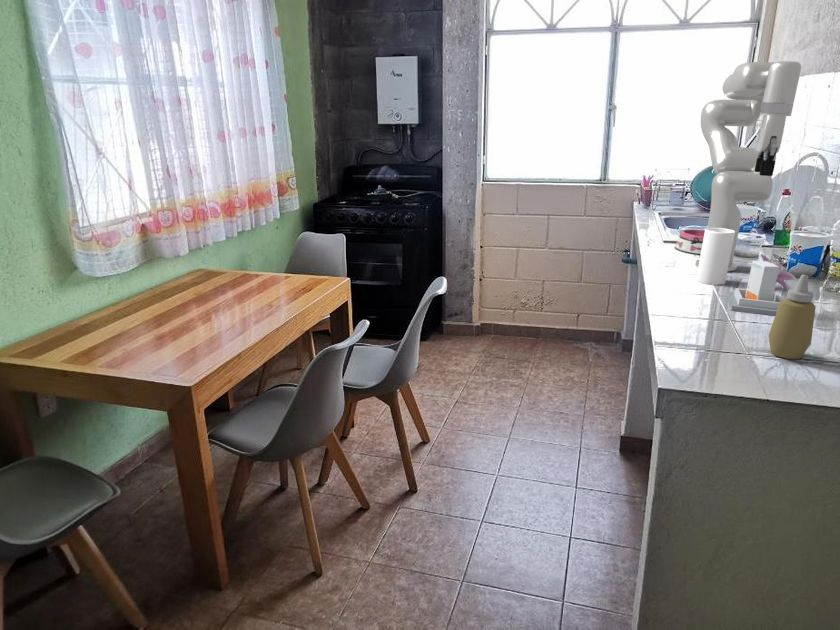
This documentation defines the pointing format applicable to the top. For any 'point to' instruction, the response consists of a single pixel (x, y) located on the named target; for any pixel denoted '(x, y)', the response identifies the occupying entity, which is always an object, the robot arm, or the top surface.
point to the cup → (715, 255)
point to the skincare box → (762, 281)
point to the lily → (780, 273)
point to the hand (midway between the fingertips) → (763, 173)
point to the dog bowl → (690, 241)
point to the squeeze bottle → (793, 322)
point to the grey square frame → (752, 303)
